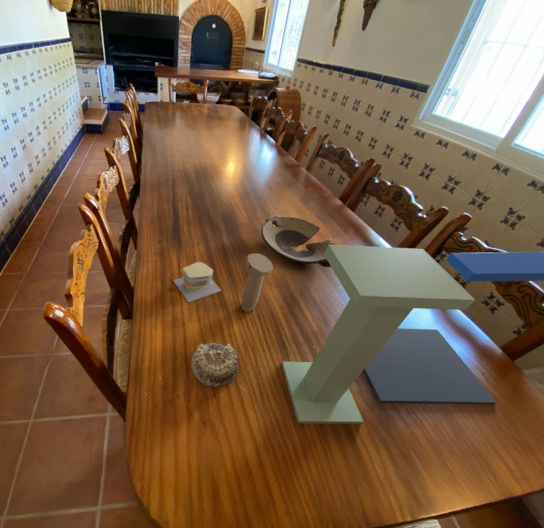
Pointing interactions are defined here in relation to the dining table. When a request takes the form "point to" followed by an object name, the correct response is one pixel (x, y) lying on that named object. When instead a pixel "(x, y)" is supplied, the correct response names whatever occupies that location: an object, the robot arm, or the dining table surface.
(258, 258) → the handle
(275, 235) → the broken bowl
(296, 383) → the stand
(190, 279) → the stacked layers on plate
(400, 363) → the mat
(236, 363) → the grey speckled round piece
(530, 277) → the blue flat bar
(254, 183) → the dining table surface
